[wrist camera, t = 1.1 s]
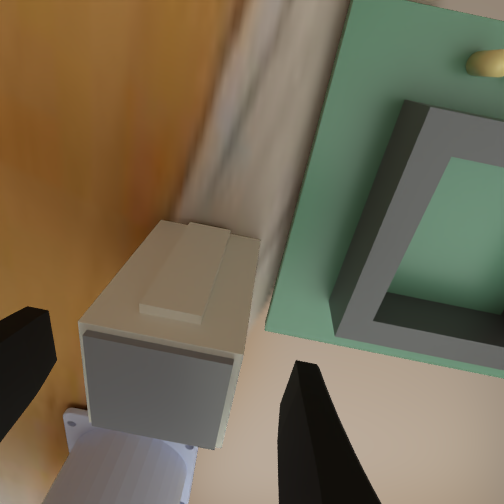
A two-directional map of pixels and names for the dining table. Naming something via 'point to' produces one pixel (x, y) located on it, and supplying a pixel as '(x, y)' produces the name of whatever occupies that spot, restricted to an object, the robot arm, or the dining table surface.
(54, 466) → the dining table surface
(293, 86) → the dining table surface
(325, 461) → the robot arm
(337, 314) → the header socket
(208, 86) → the dining table surface
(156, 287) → the plug
